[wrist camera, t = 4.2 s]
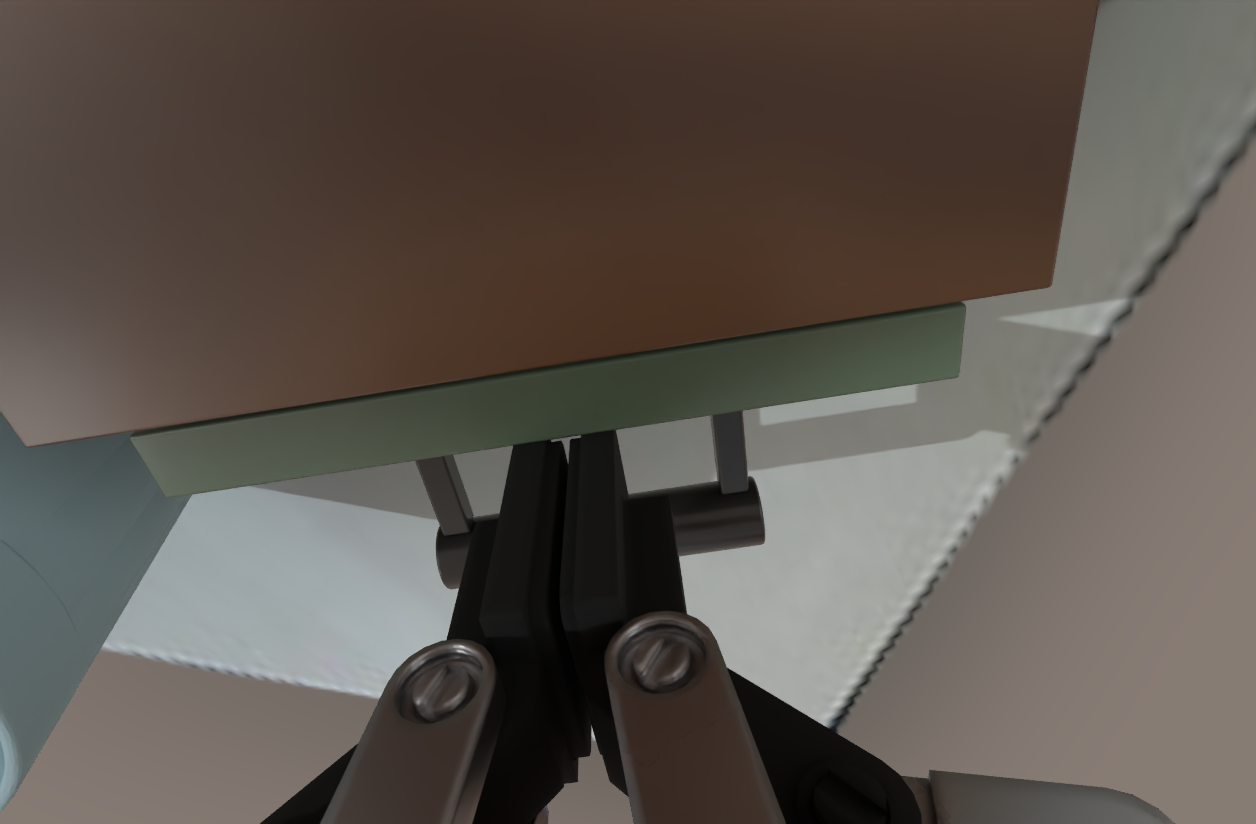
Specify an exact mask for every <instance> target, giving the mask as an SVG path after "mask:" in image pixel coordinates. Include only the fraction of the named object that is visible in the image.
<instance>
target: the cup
mask: <svg viewBox="0 0 1256 824" xmlns="http://www.w3.org/2000/svg"><path fill="white" fill-rule="evenodd" d="M133 432H134V431H133ZM133 432H127V433H120V434H114V435H108V436H101V437H95V438H89V439H82V440H76V441H70V442H63V443H57V444H51V445H44V446H38V447H31V448H27V447H26V446H24V444H23V443H22V442H21V440H20V439H19V437H18V436H17V435H16V433H15V432H14V430H13V429H12V428H11V426H10V425H9V423H8V422H7V421H6V419H5V418H4V417H3V415H2V414H1V412H0V811H2V810H3V809H4V807H5V806H6V805H7V804H8V803H9V801H10V800H11V799H12V798H13V797H14V795H15V793H16V792H17V790H18V788H19V786H20V785H21V783H22V781H23V780H24V778H25V776H26V774H27V773H28V771H29V770H30V768H31V766H32V764H33V763H34V761H35V759H36V758H37V756H38V754H39V752H40V751H41V749H42V747H43V746H44V744H45V742H46V741H47V739H48V737H49V736H50V734H51V732H52V731H53V729H54V727H55V726H56V724H57V722H58V720H59V719H60V717H61V715H62V714H63V712H64V710H65V709H66V707H67V705H68V704H69V702H70V700H71V698H72V697H73V695H74V693H75V691H76V689H77V688H78V686H79V684H80V682H81V681H82V679H83V677H84V676H85V674H86V672H87V671H88V669H89V667H90V665H91V664H92V662H93V661H94V659H95V657H96V655H97V654H98V652H99V650H100V649H101V647H102V645H103V644H104V642H105V640H106V639H107V637H108V635H109V634H110V632H111V630H112V629H113V627H114V625H115V623H116V622H117V620H118V618H119V617H120V615H121V613H122V612H123V610H124V608H125V607H126V605H127V603H128V602H129V600H130V598H131V596H132V595H133V593H134V591H135V590H136V588H137V586H138V585H139V583H140V581H141V580H142V578H143V576H144V575H145V573H146V571H147V569H148V568H149V566H150V564H151V563H152V561H153V559H154V558H155V556H156V554H157V553H158V551H159V549H160V548H161V546H162V544H163V542H164V541H165V539H166V537H167V536H168V534H169V532H170V531H171V529H172V527H173V526H174V524H175V522H176V521H177V519H178V517H179V516H180V514H181V512H182V510H183V509H184V507H185V505H186V504H187V502H188V500H189V499H190V497H191V495H185V496H178V497H172V498H167V497H166V496H165V495H164V494H163V492H162V491H161V489H160V487H159V486H158V484H157V483H156V481H155V479H154V478H153V476H152V475H151V473H150V471H149V470H148V468H147V467H146V465H145V463H144V462H143V460H142V459H141V457H140V455H139V454H138V452H137V451H136V449H135V447H134V446H133V444H132V443H131V441H130V438H129V437H130V435H131V434H132V433H133Z"/></svg>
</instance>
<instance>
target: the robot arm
mask: <svg viewBox="0 0 1256 824" xmlns="http://www.w3.org/2000/svg"><path fill="white" fill-rule="evenodd" d="M591 725H592V728H593V732H594V735H595V739H596V742H597V745H598V749H599V752H600V754H601V755H602V756H603V759H604V763H605V766H606V770H607V773H608V777H609V780H610V782H611V783H612V784H614V785H615V786H616V787H617V788H618V789H619V790H621V791H622V792H623V793H624V794H625V795H627V796H628V797H629V801H630V806H631V811H632V817H633V822H634V824H1175V823H1174V822H1173V821H1172V820H1170V819H1169V818H1168V817H1167V816H1166V815H1165V814H1164V813H1163V812H1162V811H1160V810H1159V809H1158V808H1156V807H1154V806H1152V805H1151V804H1149V803H1147V802H1145V801H1143V800H1141V799H1140V798H1138V797H1136V796H1134V795H1132V794H1128V793H1124V792H1120V791H1117V790H1113V789H1109V788H1103V787H1093V786H1084V785H1073V784H1064V783H1053V782H1044V781H1034V780H1024V779H1014V778H1004V777H994V776H984V775H974V774H964V773H954V772H945V771H934V770H929V778H928V779H927V778H917V777H908V776H900V775H899V774H898V773H897V772H896V771H894V770H893V769H892V768H890V767H889V766H888V765H887V764H885V763H884V762H883V761H882V760H880V759H878V758H877V757H875V756H873V755H872V754H870V753H868V752H867V751H865V750H863V749H862V748H860V747H858V746H857V745H855V744H853V743H852V742H850V741H848V740H847V739H845V738H843V737H842V736H840V735H838V734H837V733H835V732H833V731H832V730H830V729H828V728H827V727H825V726H823V725H822V724H820V723H818V722H817V721H815V720H813V719H812V718H810V717H808V716H807V715H805V714H803V713H802V712H800V711H798V710H797V709H795V708H793V707H792V706H790V705H788V704H787V703H785V702H784V701H782V700H780V699H779V698H777V697H775V696H774V695H772V694H770V693H769V692H767V691H765V690H764V689H762V688H760V687H759V686H757V685H755V684H754V683H752V682H750V681H749V680H747V679H745V678H744V677H742V676H740V675H739V674H737V673H735V672H734V671H732V670H730V669H729V668H727V667H726V664H725V662H724V659H723V656H722V654H721V651H720V649H719V646H718V643H717V641H716V639H715V637H714V636H713V634H712V632H711V631H710V629H709V628H708V627H707V626H706V625H705V624H703V623H702V622H701V621H700V620H698V619H697V618H695V617H692V616H690V615H687V611H686V604H685V597H684V590H683V583H682V576H681V569H680V562H679V555H678V548H677V542H676V535H675V529H674V522H673V516H672V509H671V503H670V497H669V494H665V495H658V496H651V497H644V498H637V499H630V500H629V496H628V491H627V486H626V481H625V475H624V470H623V465H622V460H621V455H620V450H619V444H618V439H617V434H616V430H611V431H604V432H598V433H591V434H585V435H581V438H576V439H571V440H570V450H569V464H568V462H567V458H566V454H565V450H564V446H563V443H562V441H556V442H551V440H545V441H539V442H532V443H526V444H519V445H513V450H512V455H511V460H510V465H509V470H508V475H507V480H506V485H505V490H504V495H503V500H502V505H501V510H500V515H499V518H498V519H491V520H484V521H479V522H477V523H476V525H475V527H474V530H473V534H472V538H471V542H470V546H469V550H468V554H467V558H466V562H465V566H464V571H463V575H462V579H461V583H460V587H459V591H458V595H457V599H456V603H455V608H454V612H453V616H452V620H451V624H450V628H449V632H448V636H447V640H445V641H440V642H437V643H435V644H432V645H430V646H427V647H424V648H423V649H421V650H420V651H418V652H417V653H415V654H413V655H412V656H410V657H409V658H408V659H407V660H406V661H405V662H404V663H403V664H402V665H401V666H400V667H399V668H397V669H396V671H395V672H394V674H393V675H392V677H391V679H390V680H389V682H388V683H387V685H386V687H385V689H384V691H383V693H382V695H381V697H380V700H379V702H378V704H377V706H376V708H375V710H374V712H373V715H372V716H371V718H370V720H369V723H368V725H367V727H366V729H365V731H364V733H363V735H362V737H361V739H360V741H359V743H358V744H357V745H355V746H354V747H353V748H352V749H351V750H349V751H348V752H347V753H346V754H345V755H343V756H342V757H341V758H340V759H338V760H337V761H336V762H335V763H334V764H332V765H331V766H330V767H329V768H327V769H326V770H325V771H324V772H323V773H321V774H320V775H319V776H318V777H317V778H315V779H314V780H313V781H311V782H310V783H309V784H308V785H307V786H305V787H304V788H303V789H302V790H301V791H299V792H298V793H297V794H296V795H294V796H293V797H292V798H291V799H290V800H288V801H287V802H286V803H285V804H283V805H282V806H281V807H280V808H279V809H277V810H276V811H275V812H274V813H273V814H271V815H270V816H269V817H268V818H266V819H265V820H264V821H263V822H261V823H260V824H548V813H549V811H548V808H547V804H548V803H549V802H550V801H551V800H552V799H553V798H554V797H555V796H556V795H557V794H558V793H559V792H560V790H561V789H562V788H563V787H564V784H565V783H573V782H578V758H579V757H587V756H590V753H591Z"/></svg>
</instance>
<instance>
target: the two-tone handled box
mask: <svg viewBox="0 0 1256 824" xmlns="http://www.w3.org/2000/svg"><path fill="white" fill-rule="evenodd" d="M965 313H966V307H965V304H964V303H962V302H961V301H959V302H953V303H947V304H940V305H934V306H928V307H921V308H915V309H909V310H902V311H896V312H890V313H883V314H877V315H870V316H864V317H858V318H851V319H845V320H839V321H832V322H826V323H820V324H813V325H807V326H801V327H794V328H788V329H781V330H775V331H769V332H762V333H756V334H750V335H743V336H737V337H731V338H724V339H718V340H712V341H705V342H699V343H693V344H686V345H680V346H673V347H667V348H661V349H654V350H648V351H642V352H635V353H629V354H623V355H616V356H610V357H604V358H597V359H591V360H584V361H578V362H572V363H565V364H559V365H553V366H546V367H540V368H534V369H527V370H521V371H515V372H508V373H502V374H495V375H489V376H483V377H476V378H470V379H464V380H457V381H451V382H445V383H438V384H432V385H426V386H419V387H413V388H406V389H400V390H394V391H387V392H381V393H375V394H368V395H362V396H356V397H349V398H343V399H337V400H330V401H324V402H318V403H311V404H305V405H298V406H292V407H286V408H279V409H273V410H267V411H260V412H254V413H248V414H241V415H235V416H229V417H222V418H216V419H209V420H203V421H197V422H190V423H184V424H178V425H171V426H165V427H159V428H152V429H146V430H140V431H134V432H133V433H132V434H131V435H130V437H129V438H130V441H131V443H132V444H133V446H134V447H135V449H136V451H137V452H138V454H139V455H140V457H141V459H142V460H143V462H144V463H145V465H146V467H147V468H148V470H149V471H150V473H151V475H152V476H153V478H154V479H155V481H156V483H157V484H158V486H159V487H160V489H161V491H162V492H163V494H164V495H165V496H166V497H167V498H172V497H178V496H185V495H192V494H198V493H205V492H211V491H218V490H224V489H231V488H237V487H244V486H251V485H257V484H264V483H270V482H277V481H283V480H290V479H296V478H303V477H310V476H316V475H323V474H329V473H336V472H342V471H349V470H355V469H362V468H368V467H375V466H382V465H388V464H395V463H401V462H408V461H414V460H415V461H416V464H417V466H418V469H419V472H420V474H421V477H422V479H423V482H424V485H425V487H426V490H427V493H428V495H429V498H430V501H431V503H432V506H433V508H434V511H435V514H436V516H437V519H438V522H439V524H440V527H439V529H438V532H437V538H436V558H437V565H438V570H439V573H440V576H441V579H442V581H443V583H444V585H445V586H446V587H447V588H449V589H457V588H459V587H460V583H461V579H462V575H463V571H464V566H465V562H466V558H467V554H468V550H469V546H470V542H471V538H472V534H473V530H474V527H475V525H476V523H477V522H479V521H484V520H491V519H498V518H499V515H500V513H499V514H492V515H485V516H478V517H473V516H474V515H473V512H472V509H471V506H470V503H469V500H468V497H467V495H466V492H465V489H464V486H463V483H462V480H461V477H460V474H459V471H458V468H457V465H456V463H455V460H454V457H453V455H454V454H460V453H467V452H473V451H480V450H486V449H493V448H500V447H506V446H513V445H519V444H526V443H532V442H539V441H545V440H552V439H559V438H565V437H572V436H578V435H585V434H591V433H598V432H604V431H611V430H618V429H624V428H631V427H637V426H644V425H650V424H657V423H663V422H670V421H676V420H683V419H690V418H696V417H703V416H709V415H710V418H711V427H712V436H713V445H714V454H715V463H716V472H717V480H718V481H714V482H708V483H701V484H694V485H687V486H681V487H674V488H667V489H660V490H654V491H647V492H640V493H634V494H628V496H629V500H630V499H637V498H644V497H651V496H658V495H665V494H669V497H670V503H671V509H672V516H673V522H674V529H675V535H676V542H677V548H678V555H679V556H686V555H693V554H700V553H707V552H714V551H721V550H728V549H735V548H742V547H749V546H756V545H762V544H764V541H765V526H764V518H763V511H762V506H761V501H760V496H759V492H758V488H757V485H756V482H755V480H754V478H753V477H751V476H748V472H747V460H746V448H745V436H744V423H743V411H742V410H749V409H755V408H762V407H768V406H775V405H781V404H788V403H794V402H801V401H808V400H814V399H821V398H827V397H834V396H840V395H847V394H853V393H860V392H867V391H873V390H880V389H886V388H893V387H899V386H906V385H912V384H919V383H926V382H932V381H939V380H945V379H952V378H956V377H958V376H959V372H960V362H961V352H962V342H963V332H964V323H965Z"/></svg>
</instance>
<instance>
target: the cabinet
mask: <svg viewBox="0 0 1256 824" xmlns="http://www.w3.org/2000/svg"><path fill="white" fill-rule="evenodd" d="M1098 3H1099V0H0V412H1V414H2V415H3V417H4V418H5V419H6V421H7V422H8V423H9V425H10V426H11V428H12V429H13V430H14V432H15V433H16V435H17V436H18V437H19V439H20V440H21V442H22V443H23V444H24V446H26V447H27V448H31V447H38V446H44V445H51V444H57V443H63V442H70V441H76V440H82V439H89V438H95V437H101V436H108V435H114V434H120V433H127V432H133V431H140V430H146V429H152V428H159V427H165V426H171V425H178V424H184V423H190V422H197V421H203V420H209V419H216V418H222V417H229V416H235V415H241V414H248V413H254V412H260V411H267V410H273V409H279V408H286V407H292V406H298V405H305V404H311V403H318V402H324V401H330V400H337V399H343V398H349V397H356V396H362V395H368V394H375V393H381V392H387V391H394V390H400V389H406V388H413V387H419V386H426V385H432V384H438V383H445V382H451V381H457V380H464V379H470V378H476V377H483V376H489V375H495V374H502V373H508V372H515V371H521V370H527V369H534V368H540V367H546V366H553V365H559V364H565V363H572V362H578V361H584V360H591V359H597V358H604V357H610V356H616V355H623V354H629V353H635V352H642V351H648V350H654V349H661V348H667V347H673V346H680V345H686V344H693V343H699V342H705V341H712V340H718V339H724V338H731V337H737V336H743V335H750V334H756V333H762V332H769V331H775V330H781V329H788V328H794V327H801V326H807V325H813V324H820V323H826V322H832V321H839V320H845V319H851V318H858V317H864V316H870V315H877V314H883V313H890V312H896V311H902V310H909V309H915V308H921V307H928V306H934V305H940V304H947V303H953V302H959V301H966V300H972V299H979V298H985V297H991V296H998V295H1004V294H1010V293H1017V292H1023V291H1029V290H1036V289H1042V288H1048V287H1050V286H1051V285H1052V280H1053V274H1054V268H1055V262H1056V256H1057V250H1058V244H1059V238H1060V232H1061V226H1062V220H1063V214H1064V208H1065V202H1066V196H1067V190H1068V184H1069V178H1070V172H1071V166H1072V160H1073V154H1074V148H1075V142H1076V136H1077V130H1078V124H1079V118H1080V112H1081V106H1082V100H1083V94H1084V88H1085V82H1086V76H1087V70H1088V64H1089V58H1090V52H1091V46H1092V40H1093V34H1094V28H1095V21H1096V15H1097V9H1098Z"/></svg>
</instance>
